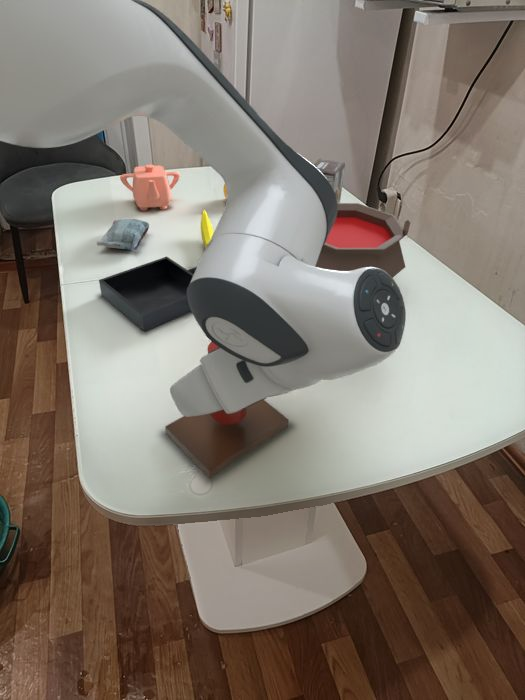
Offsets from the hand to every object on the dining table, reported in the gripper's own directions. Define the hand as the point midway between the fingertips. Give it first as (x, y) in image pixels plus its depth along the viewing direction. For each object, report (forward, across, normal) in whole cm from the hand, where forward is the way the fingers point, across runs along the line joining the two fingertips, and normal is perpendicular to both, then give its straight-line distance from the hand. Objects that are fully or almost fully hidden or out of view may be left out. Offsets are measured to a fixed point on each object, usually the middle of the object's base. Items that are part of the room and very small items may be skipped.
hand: (224, 373), depth 66 cm
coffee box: (+32, -58, -18) cm, 69 cm away
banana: (+39, -32, -25) cm, 56 cm away
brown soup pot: (+18, -42, -4) cm, 46 cm away
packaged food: (+49, -18, -34) cm, 62 cm away
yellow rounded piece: (+51, -54, -36) cm, 82 cm away
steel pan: (+32, -15, -17) cm, 39 cm away
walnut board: (+7, 0, +8) cm, 10 cm away
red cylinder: (+4, 0, +5) cm, 6 cm away
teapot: (+59, -35, -45) cm, 82 cm away
